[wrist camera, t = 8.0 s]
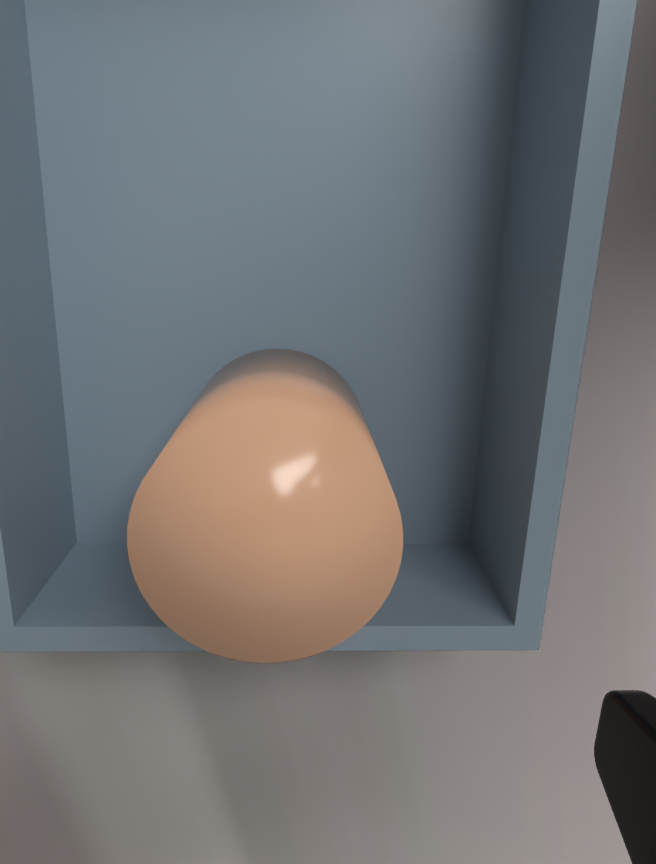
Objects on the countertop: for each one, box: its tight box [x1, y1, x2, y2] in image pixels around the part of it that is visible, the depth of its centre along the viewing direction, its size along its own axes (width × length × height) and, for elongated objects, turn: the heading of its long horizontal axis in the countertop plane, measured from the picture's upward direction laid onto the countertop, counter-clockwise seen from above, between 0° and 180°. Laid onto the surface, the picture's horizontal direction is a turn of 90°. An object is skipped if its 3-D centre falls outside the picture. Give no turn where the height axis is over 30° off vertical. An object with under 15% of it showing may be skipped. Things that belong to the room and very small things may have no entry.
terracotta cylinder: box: [127, 349, 403, 663], centre depth 14 cm, size 5×5×7 cm
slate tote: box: [0, 0, 637, 652], centre depth 15 cm, size 13×19×5 cm
